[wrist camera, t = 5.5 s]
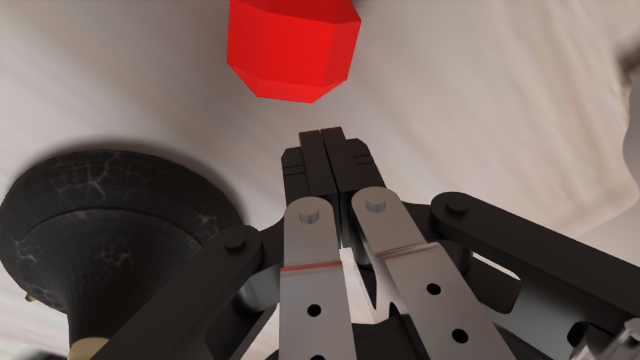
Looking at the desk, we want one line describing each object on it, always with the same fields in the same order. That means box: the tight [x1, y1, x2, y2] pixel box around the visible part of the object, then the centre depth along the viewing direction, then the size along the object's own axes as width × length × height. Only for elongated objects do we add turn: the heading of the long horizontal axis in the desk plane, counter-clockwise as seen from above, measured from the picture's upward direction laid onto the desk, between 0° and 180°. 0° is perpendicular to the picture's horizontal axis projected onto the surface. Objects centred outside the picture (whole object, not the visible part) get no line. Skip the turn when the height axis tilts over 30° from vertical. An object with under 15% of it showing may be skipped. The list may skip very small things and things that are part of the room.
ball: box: [227, 0, 361, 103], centre depth 25 cm, size 8×8×8 cm
